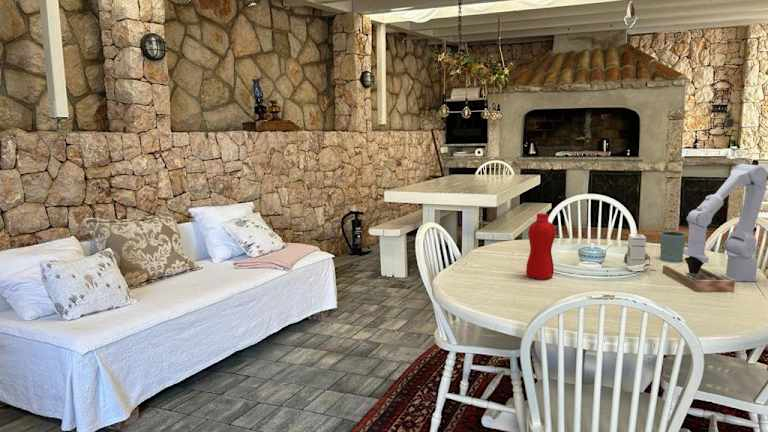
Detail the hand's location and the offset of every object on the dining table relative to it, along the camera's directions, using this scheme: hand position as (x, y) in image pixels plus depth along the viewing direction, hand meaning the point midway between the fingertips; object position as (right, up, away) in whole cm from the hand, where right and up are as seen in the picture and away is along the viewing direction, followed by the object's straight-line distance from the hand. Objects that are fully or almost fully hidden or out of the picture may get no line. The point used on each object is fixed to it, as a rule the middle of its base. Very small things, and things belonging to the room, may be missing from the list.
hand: (693, 276), depth 216 cm
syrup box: (-16, +1, +15) cm, 22 cm away
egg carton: (-1, -3, -6) cm, 7 cm away
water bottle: (-57, -1, +5) cm, 57 cm away
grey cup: (+7, +4, +31) cm, 32 cm away
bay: (0, -2, -1) cm, 2 cm away
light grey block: (-10, +3, +27) cm, 29 cm away
